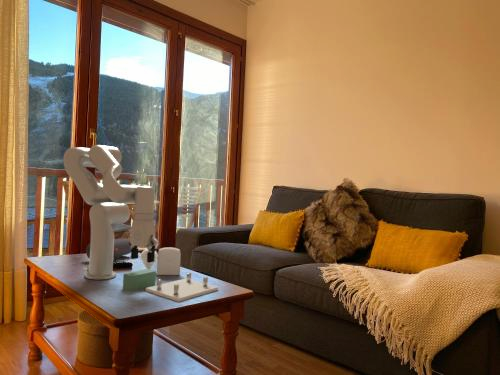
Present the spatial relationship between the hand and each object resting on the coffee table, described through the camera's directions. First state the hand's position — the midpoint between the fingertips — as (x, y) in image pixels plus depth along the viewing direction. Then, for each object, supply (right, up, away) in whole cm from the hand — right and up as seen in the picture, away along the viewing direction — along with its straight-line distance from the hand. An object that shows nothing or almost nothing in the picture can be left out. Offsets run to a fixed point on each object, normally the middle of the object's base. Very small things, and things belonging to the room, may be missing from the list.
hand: (142, 260), depth 159 cm
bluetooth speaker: (-29, -8, +46) cm, 55 cm away
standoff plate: (+16, -12, -1) cm, 20 cm away
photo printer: (+6, -11, +23) cm, 26 cm away
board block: (-1, -11, +1) cm, 11 cm away
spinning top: (-4, -10, +26) cm, 28 cm away
